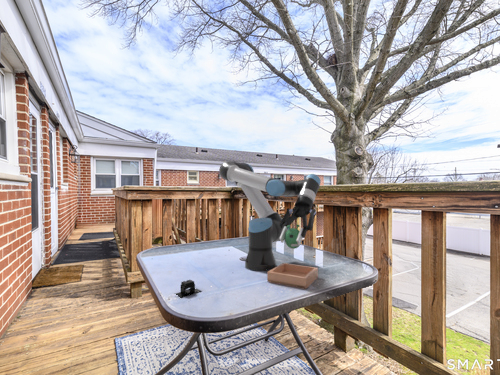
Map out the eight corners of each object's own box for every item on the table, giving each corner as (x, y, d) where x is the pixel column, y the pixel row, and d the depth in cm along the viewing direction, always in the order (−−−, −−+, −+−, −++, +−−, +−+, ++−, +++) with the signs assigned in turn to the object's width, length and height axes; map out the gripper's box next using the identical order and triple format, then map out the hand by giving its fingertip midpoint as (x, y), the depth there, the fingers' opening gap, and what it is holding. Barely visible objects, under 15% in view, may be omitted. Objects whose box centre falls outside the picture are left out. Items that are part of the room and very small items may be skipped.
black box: (196, 287, 97) (196, 275, 97) (208, 292, 92) (208, 279, 92) (166, 296, 88) (166, 283, 88) (177, 303, 83) (177, 289, 83)
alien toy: (289, 251, 100) (288, 226, 100) (282, 247, 108) (282, 223, 108) (305, 250, 101) (305, 225, 102) (297, 246, 109) (297, 223, 109)
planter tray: (267, 281, 101) (267, 271, 102) (283, 271, 115) (283, 262, 115) (305, 289, 93) (305, 278, 93) (317, 277, 107) (317, 267, 107)
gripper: (328, 206, 112) (315, 250, 98) (288, 205, 123) (271, 244, 110) (324, 195, 108) (310, 238, 94) (283, 195, 119) (265, 233, 106)
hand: (289, 241), depth 102 cm, fingers closed on alien toy, 7 cm apart
